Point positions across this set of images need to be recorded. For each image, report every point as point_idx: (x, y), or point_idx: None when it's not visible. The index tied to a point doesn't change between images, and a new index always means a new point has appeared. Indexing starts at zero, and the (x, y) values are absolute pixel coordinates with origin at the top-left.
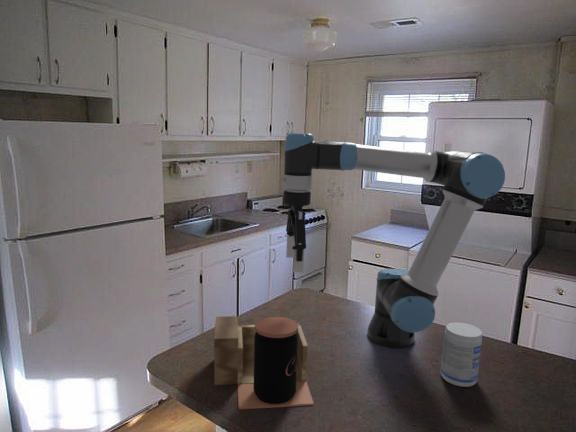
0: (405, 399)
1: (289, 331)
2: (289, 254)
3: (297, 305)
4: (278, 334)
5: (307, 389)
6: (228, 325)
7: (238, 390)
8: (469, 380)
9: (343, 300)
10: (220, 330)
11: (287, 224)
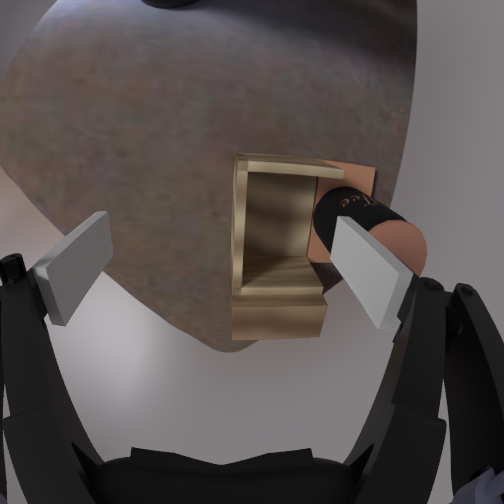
0: (370, 37)
1: (422, 246)
2: (105, 249)
3: (28, 136)
4: (423, 267)
5: (342, 165)
6: (274, 321)
7: (321, 262)
8: None
9: (23, 49)
10: (291, 331)
11: (3, 373)
